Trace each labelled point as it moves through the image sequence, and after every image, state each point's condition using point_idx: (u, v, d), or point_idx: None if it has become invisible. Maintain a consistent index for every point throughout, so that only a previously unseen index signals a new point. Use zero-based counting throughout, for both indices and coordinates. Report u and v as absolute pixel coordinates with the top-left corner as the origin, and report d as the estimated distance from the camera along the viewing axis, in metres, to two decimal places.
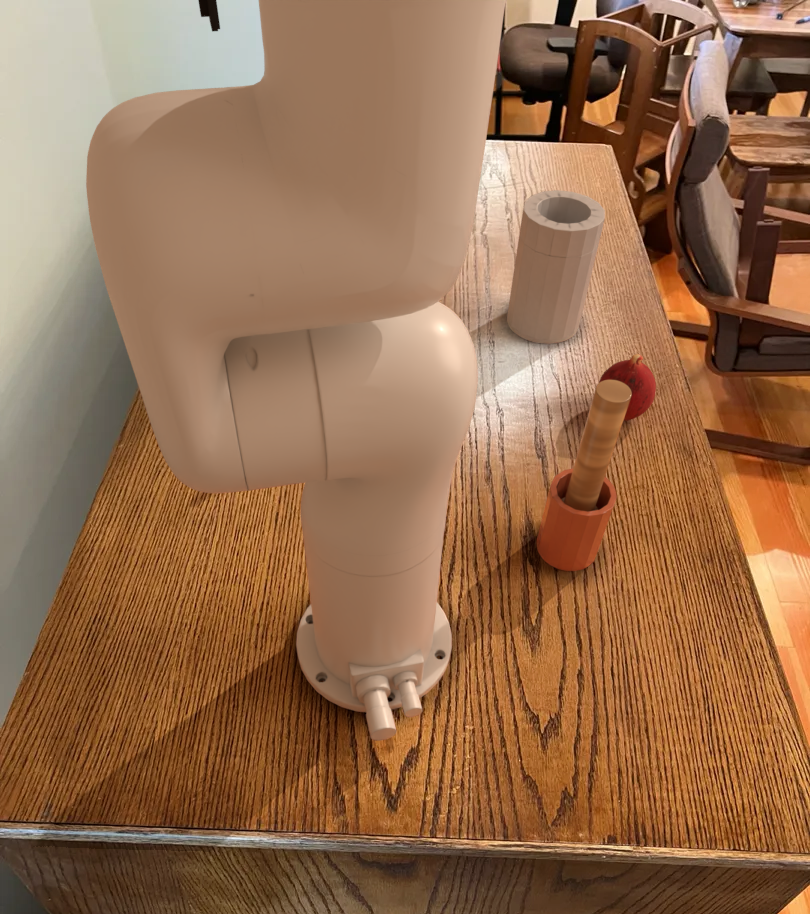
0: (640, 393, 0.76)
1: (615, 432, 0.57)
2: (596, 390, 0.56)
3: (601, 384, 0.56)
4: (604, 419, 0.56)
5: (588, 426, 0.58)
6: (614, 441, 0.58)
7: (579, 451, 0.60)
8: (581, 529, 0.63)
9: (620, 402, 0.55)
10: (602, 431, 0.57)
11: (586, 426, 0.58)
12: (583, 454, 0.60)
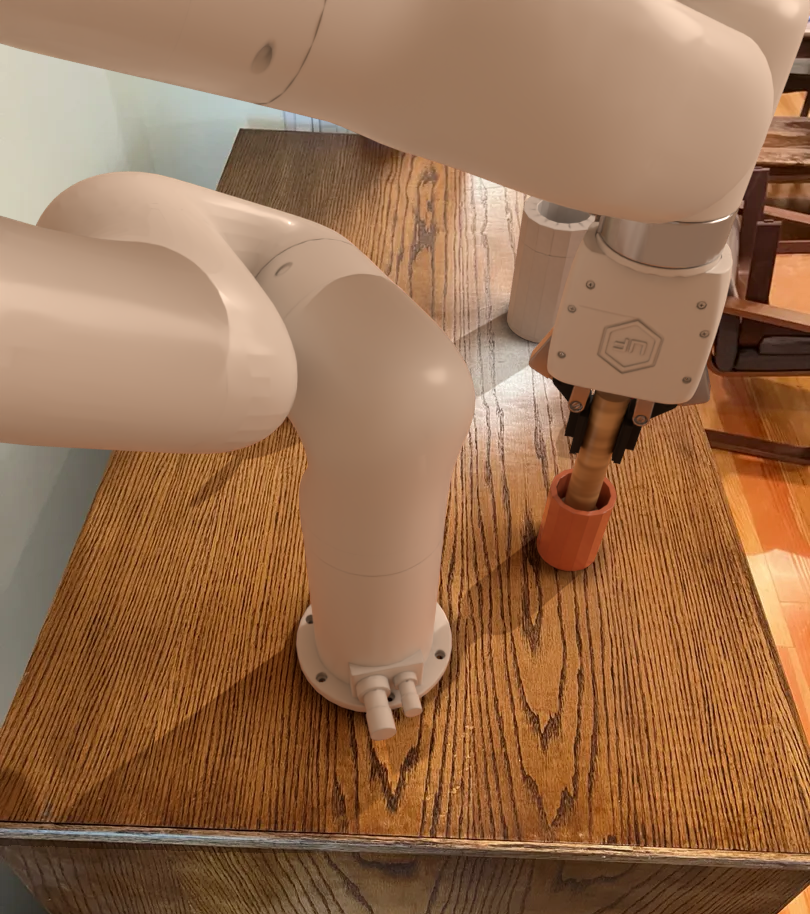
0: None
1: (615, 431, 0.57)
2: (596, 390, 0.56)
3: None
4: (604, 419, 0.56)
5: (588, 426, 0.58)
6: (614, 441, 0.58)
7: (579, 451, 0.60)
8: (581, 529, 0.63)
9: (619, 402, 0.55)
10: (602, 431, 0.57)
11: (586, 426, 0.58)
12: (583, 454, 0.60)
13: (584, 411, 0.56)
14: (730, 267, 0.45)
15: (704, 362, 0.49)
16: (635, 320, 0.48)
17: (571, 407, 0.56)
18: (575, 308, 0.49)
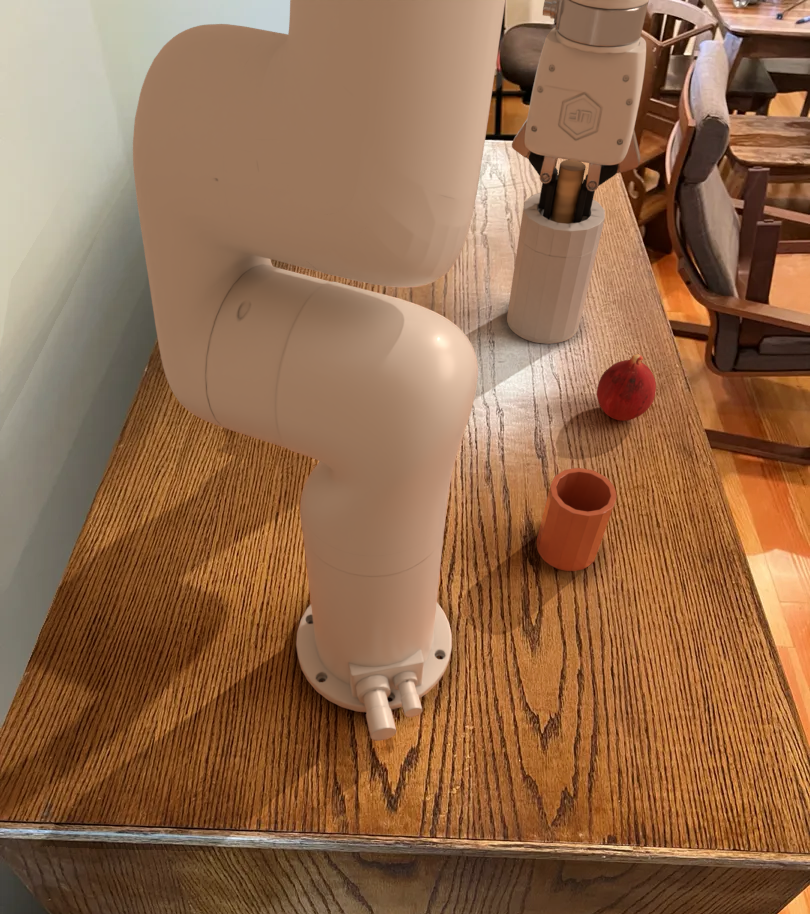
0: (640, 393, 0.76)
1: (574, 199, 0.80)
2: (560, 165, 0.78)
3: (564, 161, 0.79)
4: (566, 187, 0.79)
5: (555, 197, 0.80)
6: (574, 208, 0.81)
7: None
8: (581, 529, 0.63)
9: (576, 171, 0.77)
10: (565, 198, 0.80)
11: (554, 198, 0.81)
12: None
13: (551, 183, 0.79)
14: (644, 50, 0.68)
15: (630, 126, 0.72)
16: (582, 94, 0.71)
17: (542, 179, 0.79)
18: (542, 88, 0.71)
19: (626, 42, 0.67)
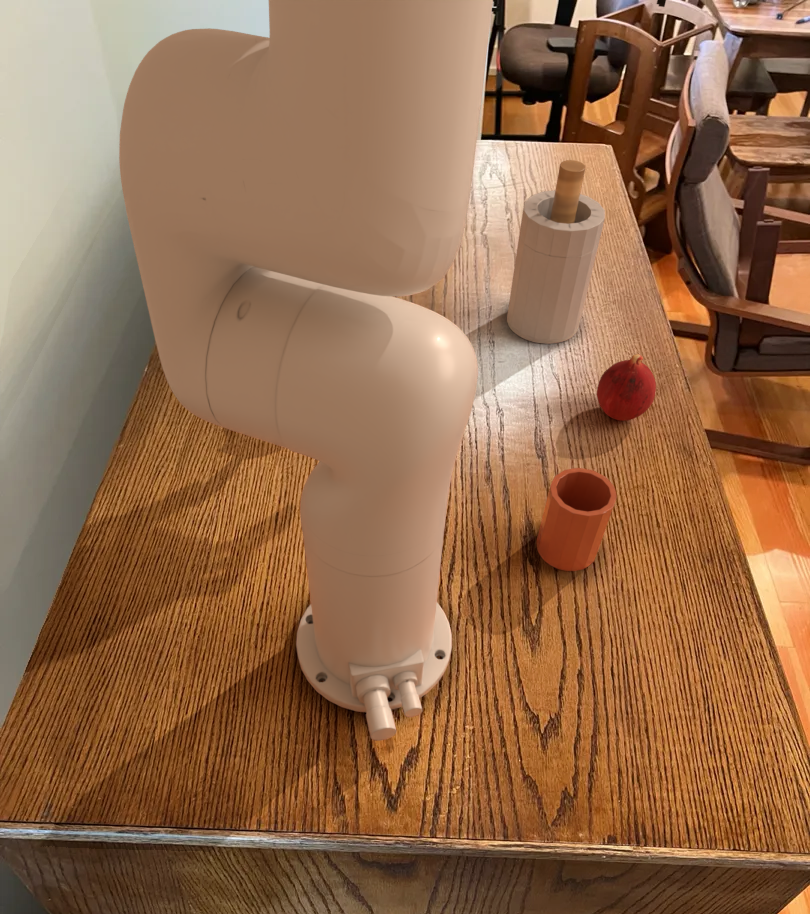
0: (640, 393, 0.76)
1: (574, 199, 0.80)
2: (560, 165, 0.78)
3: (564, 162, 0.79)
4: (566, 187, 0.79)
5: (555, 197, 0.80)
6: (574, 209, 0.81)
7: None
8: (581, 529, 0.63)
9: (576, 172, 0.77)
10: (565, 199, 0.80)
11: (554, 198, 0.81)
12: None
13: None
14: None
15: None
16: None
17: None
18: None
19: None
